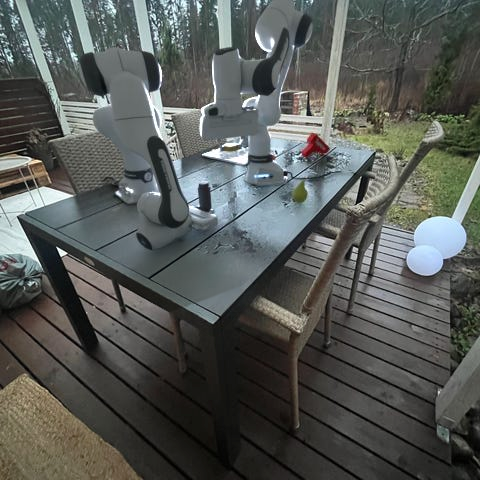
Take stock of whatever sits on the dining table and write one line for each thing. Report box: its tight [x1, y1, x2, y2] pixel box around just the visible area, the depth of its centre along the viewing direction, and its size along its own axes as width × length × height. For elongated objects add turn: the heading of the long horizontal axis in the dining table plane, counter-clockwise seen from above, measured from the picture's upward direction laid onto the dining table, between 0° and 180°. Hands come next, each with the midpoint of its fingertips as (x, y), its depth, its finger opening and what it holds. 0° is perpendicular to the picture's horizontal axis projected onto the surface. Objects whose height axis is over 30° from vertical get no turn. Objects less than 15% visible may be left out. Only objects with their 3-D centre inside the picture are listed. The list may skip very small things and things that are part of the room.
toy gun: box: [300, 132, 330, 159], centre depth 180 cm, size 18×4×15 cm
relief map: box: [201, 142, 249, 166], centre depth 183 cm, size 27×35×5 cm
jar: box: [197, 180, 213, 213], centre depth 103 cm, size 5×5×16 cm
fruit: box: [291, 174, 311, 204], centre depth 118 cm, size 7×8×12 cm
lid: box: [222, 142, 239, 152], centre depth 96 cm, size 5×5×2 cm
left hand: (207, 208), depth 105 cm, fingers closed on jar, 4 cm apart
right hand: (230, 150), depth 97 cm, fingers closed on lid, 5 cm apart
